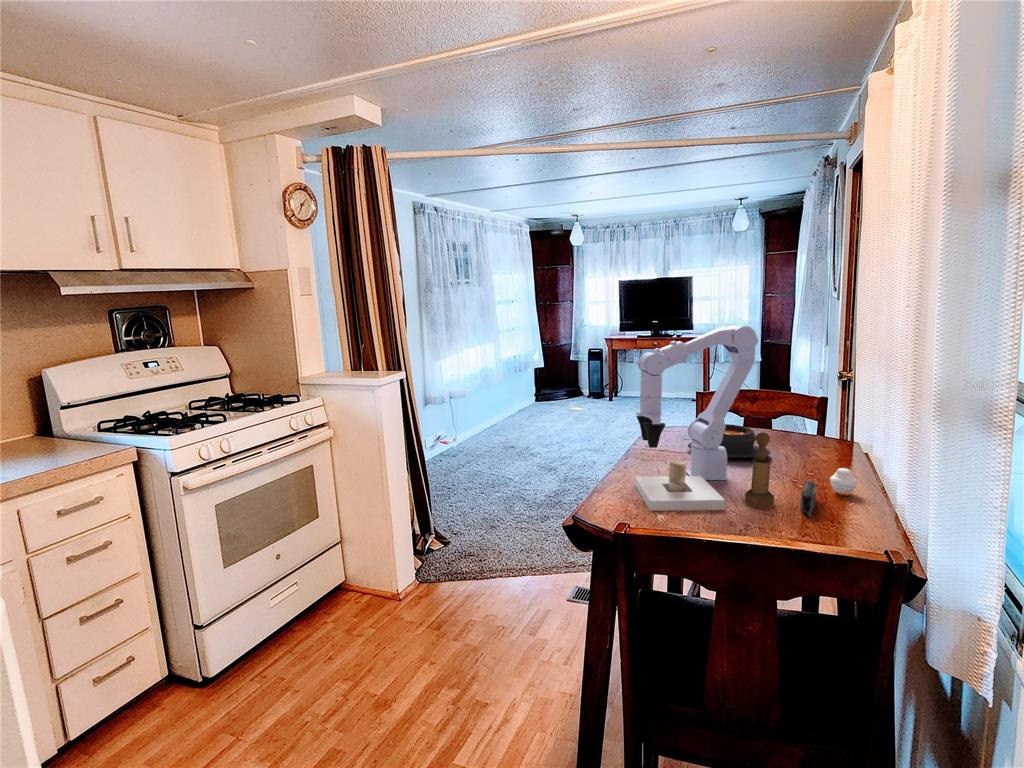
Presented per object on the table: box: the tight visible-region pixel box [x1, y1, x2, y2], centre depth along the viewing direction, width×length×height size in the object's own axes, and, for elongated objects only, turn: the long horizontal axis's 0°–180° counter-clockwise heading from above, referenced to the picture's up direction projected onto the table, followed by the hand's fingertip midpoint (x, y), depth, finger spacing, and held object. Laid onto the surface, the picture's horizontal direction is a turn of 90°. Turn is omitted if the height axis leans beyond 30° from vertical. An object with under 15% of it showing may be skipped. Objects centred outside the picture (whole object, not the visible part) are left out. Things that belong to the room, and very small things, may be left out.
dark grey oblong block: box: [800, 480, 817, 518], centre depth 135 cm, size 5×3×15 cm
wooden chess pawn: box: [744, 432, 775, 509], centre depth 137 cm, size 7×6×18 cm
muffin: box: [829, 467, 858, 494], centre depth 143 cm, size 6×6×7 cm
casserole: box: [687, 423, 771, 460], centre depth 180 cm, size 25×19×8 cm
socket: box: [634, 475, 726, 512], centre depth 144 cm, size 18×18×2 cm
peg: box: [668, 460, 687, 492], centre depth 143 cm, size 4×4×9 cm
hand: (649, 443), depth 156 cm, fingers open, 7 cm apart
